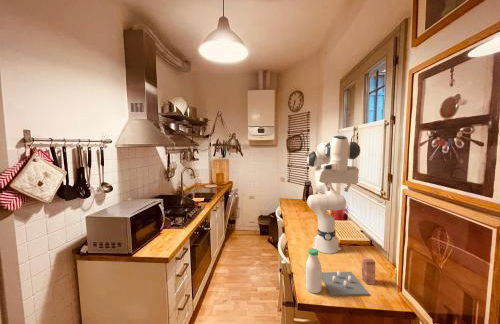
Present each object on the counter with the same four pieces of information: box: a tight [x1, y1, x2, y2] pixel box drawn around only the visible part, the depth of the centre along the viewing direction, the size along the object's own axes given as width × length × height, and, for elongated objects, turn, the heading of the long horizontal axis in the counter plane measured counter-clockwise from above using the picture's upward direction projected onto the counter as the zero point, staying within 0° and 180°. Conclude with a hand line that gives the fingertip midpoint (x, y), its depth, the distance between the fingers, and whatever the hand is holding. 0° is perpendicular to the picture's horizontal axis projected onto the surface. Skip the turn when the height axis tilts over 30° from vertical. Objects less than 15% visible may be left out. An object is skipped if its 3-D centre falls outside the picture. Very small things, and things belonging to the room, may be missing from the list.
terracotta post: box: [361, 256, 376, 285], centre depth 110 cm, size 4×4×12 cm
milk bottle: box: [305, 248, 323, 294], centre depth 105 cm, size 8×8×20 cm
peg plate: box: [321, 270, 370, 297], centre depth 109 cm, size 18×18×4 cm
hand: (337, 191), depth 114 cm, fingers open, 8 cm apart
